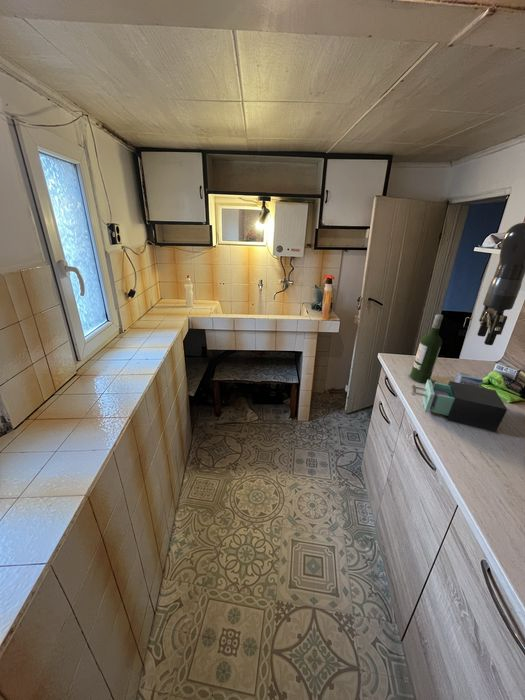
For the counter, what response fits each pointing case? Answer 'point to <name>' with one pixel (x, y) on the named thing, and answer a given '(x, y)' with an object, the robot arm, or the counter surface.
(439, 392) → the purple cube
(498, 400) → the drawer cabinet
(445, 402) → the drawer
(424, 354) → the wine bottle
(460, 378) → the medicine box
